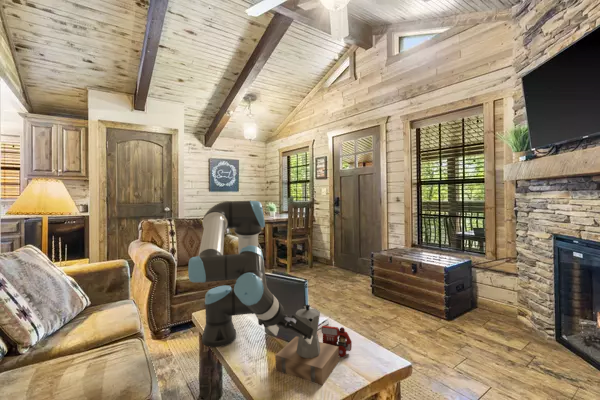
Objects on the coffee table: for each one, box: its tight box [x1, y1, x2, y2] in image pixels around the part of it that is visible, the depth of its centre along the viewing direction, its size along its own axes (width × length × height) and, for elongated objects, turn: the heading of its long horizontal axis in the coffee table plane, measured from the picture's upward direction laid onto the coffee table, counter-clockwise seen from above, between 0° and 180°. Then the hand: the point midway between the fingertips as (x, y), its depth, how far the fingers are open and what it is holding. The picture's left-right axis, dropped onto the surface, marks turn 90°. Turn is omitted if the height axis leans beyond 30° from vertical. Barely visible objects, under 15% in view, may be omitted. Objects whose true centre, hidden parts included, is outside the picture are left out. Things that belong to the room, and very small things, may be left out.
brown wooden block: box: [274, 335, 340, 386], centre depth 113 cm, size 19×16×6 cm
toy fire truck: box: [321, 325, 352, 358], centre depth 123 cm, size 7×12×10 cm, turn 73°
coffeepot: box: [295, 303, 321, 358], centre depth 113 cm, size 15×9×18 cm, turn 9°
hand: (293, 335), depth 103 cm, fingers open, 13 cm apart
